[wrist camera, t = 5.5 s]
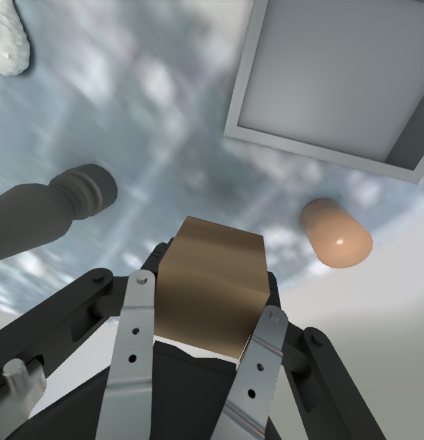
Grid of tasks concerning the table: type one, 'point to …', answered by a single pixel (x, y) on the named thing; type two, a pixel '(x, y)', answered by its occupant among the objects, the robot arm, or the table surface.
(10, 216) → the candle holder
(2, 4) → the white creature statuette
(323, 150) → the grey tote
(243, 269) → the walnut cube
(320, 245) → the tan cylinder
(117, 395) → the robot arm
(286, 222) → the table surface
